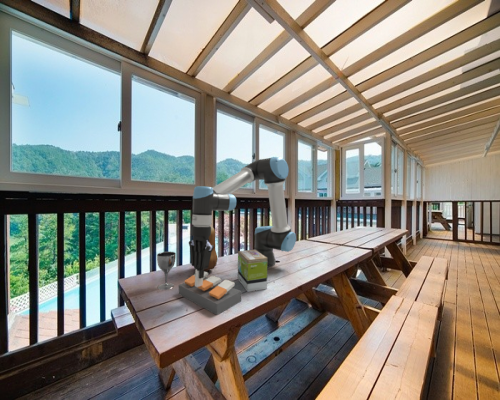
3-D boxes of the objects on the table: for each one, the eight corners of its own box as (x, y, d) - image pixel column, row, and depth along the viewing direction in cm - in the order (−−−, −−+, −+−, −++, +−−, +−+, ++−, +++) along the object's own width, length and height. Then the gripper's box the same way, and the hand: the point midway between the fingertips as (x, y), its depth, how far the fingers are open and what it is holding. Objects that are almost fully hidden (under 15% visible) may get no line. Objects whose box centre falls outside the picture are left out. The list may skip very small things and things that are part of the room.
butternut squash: (188, 275, 109) (188, 227, 109) (196, 266, 123) (197, 224, 122) (213, 276, 108) (214, 228, 108) (219, 267, 121) (220, 225, 121)
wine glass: (155, 291, 90) (155, 256, 90) (158, 283, 98) (158, 252, 98) (174, 289, 93) (174, 255, 92) (175, 282, 100) (176, 251, 100)
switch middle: (213, 279, 91) (213, 275, 90) (221, 283, 88) (221, 278, 87) (196, 289, 84) (196, 284, 83) (204, 292, 81) (204, 287, 80)
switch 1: (201, 273, 96) (200, 269, 95) (208, 276, 92) (208, 272, 92) (185, 284, 89) (184, 280, 88) (192, 288, 86) (191, 284, 85)
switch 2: (226, 283, 86) (225, 279, 85) (235, 287, 82) (234, 282, 82) (209, 296, 79) (208, 292, 78) (218, 301, 76) (217, 296, 75)
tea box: (236, 279, 105) (237, 250, 105) (255, 277, 109) (255, 248, 108) (246, 292, 91) (247, 259, 91) (267, 289, 94) (268, 257, 94)
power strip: (216, 278, 105) (216, 271, 105) (254, 293, 90) (254, 284, 90) (178, 294, 88) (178, 284, 88) (216, 315, 73) (217, 304, 73)
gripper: (183, 224, 83) (180, 283, 83) (204, 228, 75) (201, 293, 74) (199, 223, 89) (196, 278, 88) (220, 226, 81) (217, 287, 80)
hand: (198, 285), depth 81 cm, fingers closed
